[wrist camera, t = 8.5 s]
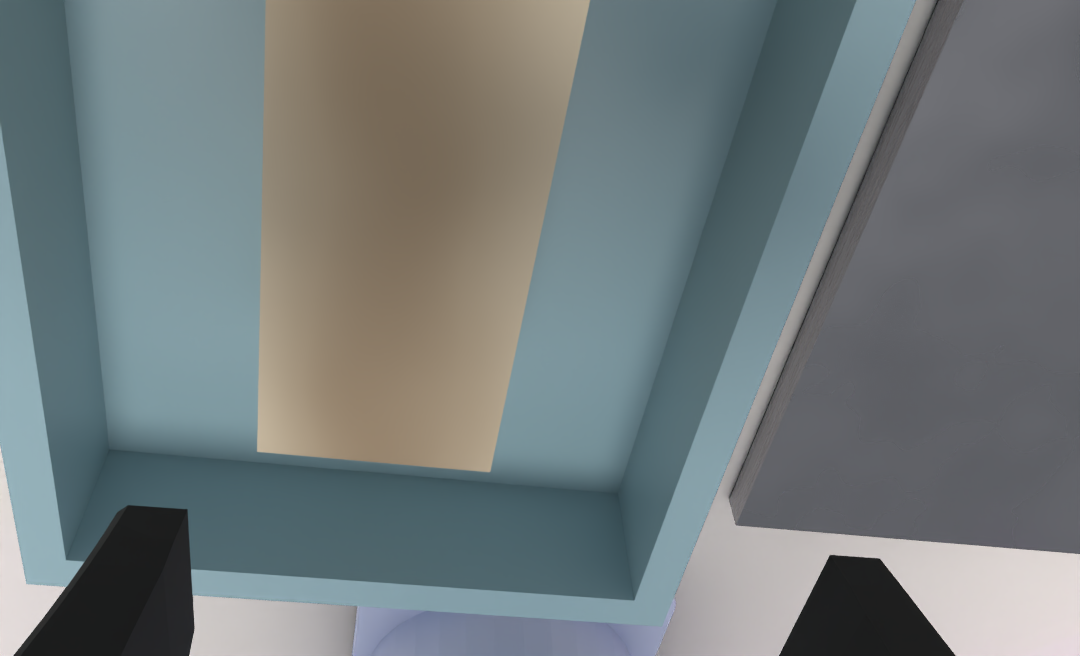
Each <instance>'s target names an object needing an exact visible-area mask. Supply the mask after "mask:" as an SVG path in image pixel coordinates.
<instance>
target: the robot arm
mask: <svg viewBox="0 0 1080 656" xmlns="http://www.w3.org/2000/svg"><path fill="white" fill-rule="evenodd" d="M675 608H676V600H675V596H674V598H673V601H672V603H671V606H670V608H669V611H668V613H667V616H666V618H665V620H664V623H663V625H662V627H659V626H644V625H629V624H614V623H599V622H584V621H570V620H555V619H540V618H525V617H510V616H495V615H480V614H465V613H451V612H436V611H421V610H406V609H391V608H376V607H361V606H357V615H356V624H355V633H354V641H353V650H352V656H656V654H657V651H658V649H659V647H660V644H661V642H662V639H663V637H664V634H665V632H666V630H667V627H668V625H669V622H670V620H671V617H672V615H673V613H674V610H675ZM193 633H194V612H193V595H192V577H191V560H190V543H189V525H188V509H177V508H163V507H149V506H135V505H127V506H126V507H124V508H123V509H121V510H119V511H118V512H117V513H116V515H115V517H114V518H113V520H112V521H111V523H110V524H109V526H108V528H107V529H106V531H105V532H104V534H103V535H102V537H101V538H100V540H99V541H98V543H97V544H96V546H95V547H94V549H93V550H92V552H91V553H90V555H89V556H88V557H87V559H86V560H85V562H84V563H83V565H82V566H81V567H80V569H79V570H78V572H77V573H76V574H75V576H74V577H73V579H72V580H71V581H70V583H69V584H68V586H67V587H66V588H65V590H64V591H63V592H62V594H61V595H60V596H59V598H58V599H57V600H56V602H55V603H54V604H53V606H52V607H51V608H50V610H49V611H48V613H47V614H46V615H45V617H44V618H43V619H42V620H41V622H40V623H39V624H38V625H37V627H36V628H35V629H34V631H33V632H32V633H31V634H30V636H29V637H28V638H27V639H26V641H25V642H24V643H23V644H22V646H21V647H20V648H19V649H18V651H17V652H16V653H15V654H14V656H189V654H190V648H191V643H192V638H193ZM779 656H955V654H954V653H953V652H952V651H951V649H950V648H949V647H948V645H947V644H946V643H945V642H944V640H943V639H942V638H941V637H940V635H939V634H938V633H937V631H936V630H935V629H934V628H933V626H932V625H931V624H930V622H929V621H928V620H927V618H926V617H925V616H924V615H923V613H922V612H921V611H920V609H919V608H918V607H917V606H916V604H915V603H914V602H913V600H912V599H911V598H910V596H909V595H908V594H907V593H906V591H905V590H904V589H903V587H902V586H901V585H900V584H899V582H898V581H897V580H896V579H895V577H894V576H893V575H892V573H891V572H890V571H889V570H888V568H887V567H886V566H885V565H884V563H883V562H882V561H881V560H880V559H878V558H864V557H850V556H836V555H830V556H829V558H828V560H827V562H826V564H825V566H824V568H823V570H822V572H821V574H820V576H819V578H818V580H817V582H816V584H815V586H814V588H813V590H812V592H811V594H810V596H809V598H808V600H807V602H806V604H805V606H804V608H803V610H802V612H801V614H800V615H799V617H798V619H797V621H796V623H795V625H794V627H793V629H792V631H791V633H790V635H789V637H788V639H787V641H786V643H785V645H784V647H783V649H782V651H781V653H780V655H779Z"/></svg>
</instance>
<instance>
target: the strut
mask: <svg viewBox="0 0 1080 656" xmlns="http://www.w3.org/2000/svg"><path fill="white" fill-rule="evenodd" d="M589 3H590V0H266V8H265V61H264V114H263V167H262V220H261V274H260V327H259V380H258V433H257V452H265V453H276V454H288V455H299V456H311V457H322V458H333V459H345V460H356V461H367V462H379V463H390V464H401V465H413V466H424V467H435V468H447V469H458V470H469V471H481V472H490V471H491V466H492V461H493V456H494V452H495V447H496V442H497V438H498V433H499V428H500V423H501V419H502V414H503V409H504V404H505V400H506V395H507V390H508V386H509V381H510V376H511V371H512V367H513V362H514V357H515V353H516V348H517V343H518V338H519V334H520V329H521V324H522V320H523V315H524V310H525V305H526V301H527V296H528V291H529V286H530V282H531V277H532V272H533V268H534V263H535V258H536V253H537V249H538V244H539V239H540V235H541V230H542V225H543V220H544V216H545V211H546V206H547V202H548V197H549V192H550V187H551V183H552V178H553V173H554V169H555V164H556V159H557V154H558V150H559V145H560V140H561V135H562V131H563V126H564V121H565V117H566V112H567V107H568V102H569V98H570V93H571V88H572V84H573V79H574V74H575V69H576V65H577V60H578V55H579V51H580V46H581V41H582V36H583V32H584V27H585V22H586V17H587V13H588V8H589Z"/></svg>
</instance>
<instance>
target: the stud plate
mask: <svg viewBox="0 0 1080 656" xmlns="http://www.w3.org/2000/svg"><path fill="white" fill-rule="evenodd" d="M729 501H730V505H731V509H732V513H733V516H734V520H735V524H736V525H739V526H751V527H763V528H775V529H787V530H799V531H811V532H823V533H835V534H847V535H859V536H871V537H883V538H895V539H907V540H919V541H931V542H943V543H955V544H967V545H979V546H991V547H1003V548H1015V549H1027V550H1039V551H1051V552H1063V553H1075V554H1080V0H938V3H937V5H936V7H935V10H934V12H933V14H932V17H931V19H930V22H929V24H928V26H927V29H926V31H925V34H924V36H923V38H922V41H921V43H920V45H919V48H918V50H917V53H916V55H915V57H914V60H913V62H912V65H911V67H910V69H909V72H908V74H907V77H906V79H905V81H904V84H903V86H902V88H901V91H900V93H899V96H898V98H897V100H896V103H895V105H894V108H893V110H892V112H891V115H890V117H889V119H888V122H887V124H886V127H885V129H884V131H883V134H882V136H881V139H880V141H879V143H878V146H877V148H876V150H875V153H874V155H873V158H872V160H871V162H870V165H869V167H868V170H867V172H866V174H865V177H864V179H863V182H862V184H861V186H860V189H859V191H858V193H857V196H856V198H855V201H854V203H853V205H852V208H851V210H850V213H849V215H848V217H847V220H846V222H845V224H844V227H843V229H842V232H841V234H840V236H839V239H838V241H837V244H836V246H835V248H834V251H833V253H832V255H831V258H830V260H829V263H828V265H827V267H826V270H825V272H824V275H823V277H822V279H821V282H820V284H819V287H818V289H817V291H816V294H815V296H814V298H813V301H812V303H811V306H810V308H809V310H808V313H807V315H806V318H805V320H804V322H803V325H802V327H801V329H800V332H799V334H798V337H797V339H796V341H795V344H794V346H793V349H792V351H791V353H790V356H789V358H788V360H787V363H786V365H785V368H784V370H783V372H782V375H781V377H780V380H779V382H778V384H777V387H776V389H775V392H774V394H773V396H772V399H771V401H770V403H769V406H768V408H767V411H766V413H765V415H764V418H763V420H762V423H761V425H760V427H759V430H758V432H757V434H756V437H755V439H754V442H753V444H752V446H751V449H750V451H749V454H748V456H747V458H746V461H745V463H744V465H743V468H742V470H741V473H740V475H739V477H738V480H737V482H736V485H735V487H734V489H733V492H732V494H731V497H730V499H729Z"/></svg>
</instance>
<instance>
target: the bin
mask: <svg viewBox="0 0 1080 656" xmlns="http://www.w3.org/2000/svg"><path fill="white" fill-rule="evenodd" d="M915 2H916V0H590V3H589V8H588V13H587V17H586V22H585V27H584V32H583V36H582V41H581V46H580V51H579V55H578V60H577V65H576V69H575V74H574V79H573V84H572V88H571V93H570V98H569V102H568V107H567V112H566V117H565V121H564V126H563V131H562V135H561V140H560V145H559V150H558V154H557V159H556V164H555V169H554V173H553V178H552V183H551V187H550V192H549V197H548V202H547V206H546V211H545V216H544V220H543V225H542V230H541V235H540V239H539V244H538V249H537V253H536V258H535V263H534V268H533V272H532V277H531V282H530V286H529V291H528V296H527V301H526V305H525V310H524V315H523V320H522V324H521V329H520V334H519V338H518V343H517V348H516V353H515V357H514V362H513V367H512V371H511V376H510V381H509V386H508V390H507V395H506V400H505V404H504V409H503V414H502V419H501V423H500V428H499V433H498V438H497V442H496V447H495V452H494V456H493V461H492V466H491V471H490V472H481V471H469V470H458V469H447V468H435V467H424V466H413V465H401V464H390V463H379V462H367V461H356V460H345V459H333V458H322V457H311V456H299V455H288V454H276V453H265V452H257V433H258V380H259V327H260V274H261V220H262V167H263V114H264V61H265V8H266V0H0V446H1V451H2V457H3V462H4V467H5V473H6V478H7V483H8V488H9V494H10V499H11V504H12V510H13V515H14V520H15V525H16V531H17V536H18V541H19V547H20V552H21V557H22V562H23V568H24V573H25V578H26V584H34V585H49V586H64V587H67V586H68V584H69V583H70V581H71V580H72V579H73V577H74V576H75V574H76V573H77V572H78V570H79V569H80V567H81V566H82V565H83V563H84V562H85V560H86V559H87V557H88V556H89V555H90V553H91V552H92V550H93V549H94V547H95V546H96V544H97V543H98V541H99V540H100V538H101V537H102V535H103V534H104V532H105V531H106V529H107V528H108V526H109V524H110V523H111V521H112V520H113V518H114V517H115V515H116V513H117V512H118V511H119V510H121V509H123V508H124V507H126V506H127V505H135V506H149V507H163V508H177V509H188V525H189V543H190V560H191V577H192V595H198V596H213V597H227V598H242V599H257V600H272V601H287V602H302V603H317V604H332V605H346V606H361V607H376V608H391V609H406V610H421V611H436V612H451V613H465V614H480V615H495V616H510V617H525V618H540V619H555V620H570V621H584V622H599V623H614V624H629V625H644V626H659V627H662V625H663V623H664V620H665V618H666V616H667V613H668V611H669V608H670V606H671V603H672V601H673V598H674V596H675V593H676V591H677V588H678V586H679V584H680V581H681V579H682V576H683V574H684V571H685V569H686V566H687V564H688V561H689V559H690V556H691V554H692V551H693V549H694V547H695V544H696V542H697V539H698V537H699V534H700V532H701V529H702V527H703V524H704V522H705V519H706V517H707V515H708V512H709V510H710V507H711V505H712V502H713V500H714V497H715V495H716V492H717V490H718V487H719V485H720V482H721V480H722V478H723V475H724V473H725V470H726V468H727V465H728V463H729V460H730V458H731V455H732V453H733V450H734V448H735V446H736V443H737V441H738V438H739V436H740V433H741V431H742V428H743V426H744V423H745V421H746V418H747V416H748V413H749V411H750V409H751V406H752V404H753V401H754V399H755V396H756V394H757V391H758V389H759V386H760V384H761V381H762V379H763V377H764V374H765V372H766V369H767V367H768V364H769V362H770V359H771V357H772V354H773V352H774V349H775V347H776V344H777V342H778V340H779V337H780V335H781V332H782V330H783V327H784V325H785V322H786V320H787V317H788V315H789V312H790V310H791V307H792V305H793V303H794V300H795V298H796V295H797V293H798V290H799V288H800V285H801V283H802V280H803V278H804V275H805V273H806V271H807V268H808V266H809V263H810V261H811V258H812V256H813V253H814V251H815V248H816V246H817V243H818V241H819V238H820V236H821V234H822V231H823V229H824V226H825V224H826V221H827V219H828V216H829V214H830V211H831V209H832V206H833V204H834V202H835V199H836V197H837V194H838V192H839V189H840V187H841V184H842V182H843V179H844V177H845V174H846V172H847V169H848V167H849V165H850V162H851V160H852V157H853V155H854V152H855V150H856V147H857V145H858V142H859V140H860V137H861V135H862V133H863V130H864V128H865V125H866V123H867V120H868V118H869V115H870V113H871V110H872V108H873V105H874V103H875V100H876V98H877V96H878V93H879V91H880V88H881V86H882V83H883V81H884V78H885V76H886V73H887V71H888V68H889V66H890V64H891V61H892V59H893V56H894V54H895V51H896V49H897V46H898V44H899V41H900V39H901V36H902V34H903V31H904V29H905V27H906V24H907V22H908V19H909V17H910V14H911V12H912V9H913V7H914V4H915Z"/></svg>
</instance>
